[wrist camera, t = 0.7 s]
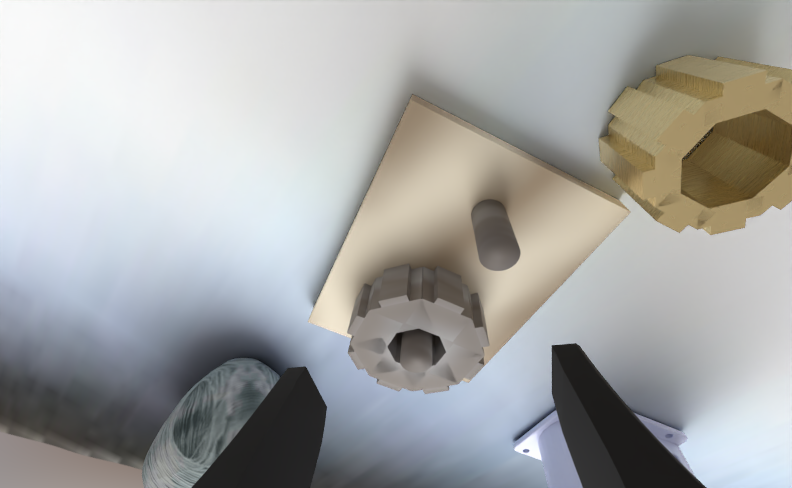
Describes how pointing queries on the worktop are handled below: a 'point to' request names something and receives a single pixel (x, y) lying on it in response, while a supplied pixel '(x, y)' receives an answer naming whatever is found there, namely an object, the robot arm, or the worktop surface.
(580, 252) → the gear board
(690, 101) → the brass gear
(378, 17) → the worktop surface
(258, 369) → the spool
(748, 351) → the worktop surface
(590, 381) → the robot arm
